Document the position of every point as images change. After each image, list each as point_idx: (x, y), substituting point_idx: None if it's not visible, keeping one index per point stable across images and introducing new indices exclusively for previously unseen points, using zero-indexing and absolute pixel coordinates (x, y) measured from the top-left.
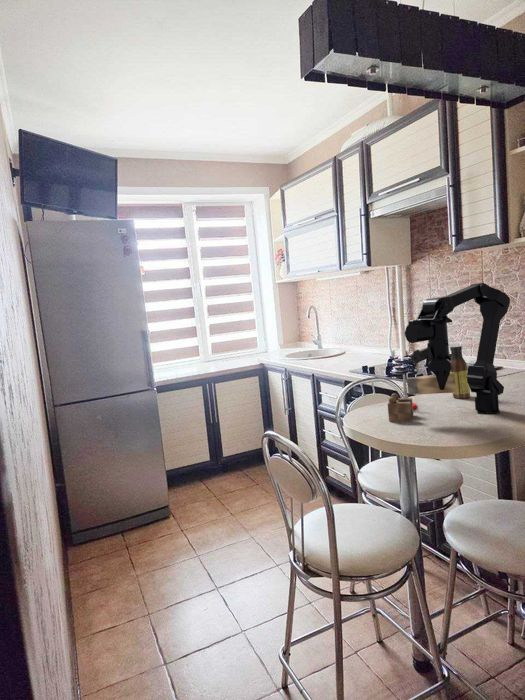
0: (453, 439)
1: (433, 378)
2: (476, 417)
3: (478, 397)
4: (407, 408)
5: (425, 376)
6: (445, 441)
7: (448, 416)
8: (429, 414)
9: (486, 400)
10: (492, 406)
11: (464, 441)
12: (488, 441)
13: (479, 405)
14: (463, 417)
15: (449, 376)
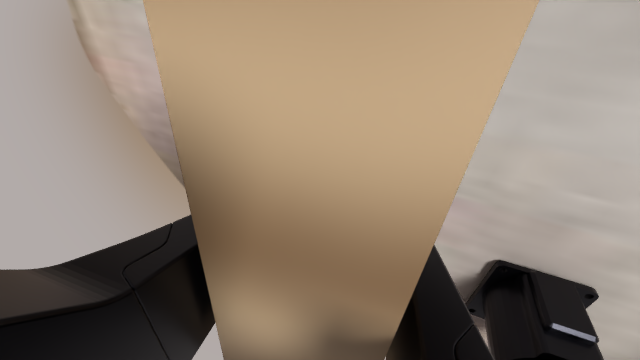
0: (161, 87)
1: (200, 213)
2: (438, 234)
3: (533, 336)
4: None
5: (398, 141)
6: (134, 56)
7: (507, 143)
8: (636, 37)
9: (494, 334)
10: (485, 320)
11: (153, 115)
12: (172, 172)
13: (523, 298)
14: (456, 196)
15: (231, 350)
